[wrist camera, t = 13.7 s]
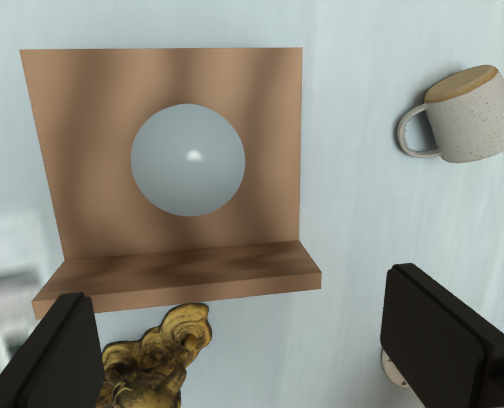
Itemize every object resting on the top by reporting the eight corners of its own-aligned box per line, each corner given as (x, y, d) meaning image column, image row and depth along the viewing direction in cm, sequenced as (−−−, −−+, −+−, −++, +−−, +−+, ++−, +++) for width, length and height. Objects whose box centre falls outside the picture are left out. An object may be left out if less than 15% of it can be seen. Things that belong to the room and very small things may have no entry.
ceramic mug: (462, 62, 39) (522, 55, 31) (483, 125, 41) (542, 132, 34) (381, 113, 39) (421, 117, 32) (407, 171, 42) (449, 188, 35)
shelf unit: (274, 60, 35) (331, 34, 20) (275, 217, 41) (320, 288, 26) (70, 62, 33) (-38, 34, 18) (100, 230, 38) (36, 319, 23)
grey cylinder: (233, 182, 28) (246, 212, 21) (154, 187, 27) (138, 220, 20) (230, 101, 26) (243, 102, 19) (145, 104, 26) (123, 106, 18)
